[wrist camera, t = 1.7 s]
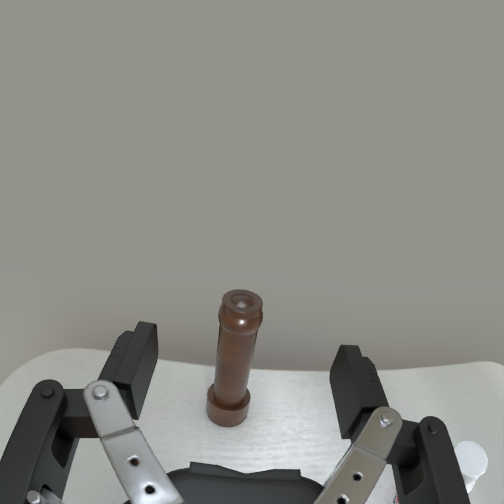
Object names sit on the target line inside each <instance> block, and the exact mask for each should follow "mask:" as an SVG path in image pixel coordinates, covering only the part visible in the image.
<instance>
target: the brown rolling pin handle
mask: <svg viewBox="0 0 504 504" xmlns="http://www.w3.org/2000/svg"><path fill="white" fill-rule="evenodd" d="M262 305H263V302H262V299H261V298H260V297H259V296H258V295H257V294H255V293H253V292H251V291H247V290H232V291H229V292H227V293H226V294H224V296H223V299H222V304H221V306H220V309H219V313H218V318H219V322H220V327H219V338H218V348H217V360H216V369H215V380H214V384H212V385H211V386H210V388H209V389H208V393H207V408H206V411H207V415H208V417H209V418H210V419H211V420H212V421H213V422H214V423H216V424H218V425H220V426H225V427H232V426H236V425H238V424H240V423H242V422H243V421H244V420H245V418H246V416H247V411H248V407H249V403H250V393H249V390H248V389H247V383H248V378H249V373H250V368H251V363H252V357H253V352H254V347H255V342H256V337H257V332H258V328H259V327H260V324H261V322H262V318H263V313H262Z"/></svg>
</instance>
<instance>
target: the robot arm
mask: <svg viewBox="0 0 504 504" xmlns="http://www.w3.org/2000/svg"><path fill="white" fill-rule="evenodd" d="M157 359H158V337H157V325H156V324H154V323H148V322H142V321H139V322H138V324H137V326H136V328H135V330H134V332H131V331H125V332H124V333H123V334H122V335H120V336H119V337H118V339H117V341H116V343H115V345H114V347H113V349H112V351H111V354H110V355H109V357H108V359H107V361H106V363H105V365H104V367H103V369H102V372H101V374H100V376H99V378H98V380H96V381H93V382H91V383H89V384H88V385H87V386H86V387H85V388H84V389H63V387H62V385H61V384H60V383H59V382H57V381H55V380H43V381H41V382H39V383H37V384H36V385H35V387H34V388H33V390H32V392H31V394H30V396H29V398H28V400H27V402H26V404H25V406H24V408H23V410H22V412H21V415H20V417H19V419H18V421H17V423H16V425H15V428H14V430H13V432H12V434H11V437H10V439H9V441H8V444H7V446H6V448H5V451H4V453H3V456H2V458H1V461H0V504H65V503H63V502H62V497H63V493H64V490H65V486H66V482H67V479H68V475H69V472H70V468H71V465H72V461H73V458H74V455H75V451H76V448H77V445H78V442H79V439H80V438H100V440H101V443H102V445H103V447H104V450H105V452H106V454H107V456H108V458H109V461H110V463H111V465H112V467H113V469H114V471H115V473H116V475H117V477H118V479H119V481H120V483H121V485H122V487H123V489H124V491H125V492H126V494H127V496H128V498H129V500H128V501H126V502H125V503H123V504H365V502H366V501H367V499H368V497H369V495H370V494H371V492H372V490H373V488H374V487H375V485H376V483H377V481H378V479H379V478H380V476H381V474H382V472H383V470H384V468H385V466H386V464H391V465H392V469H393V474H394V479H395V485H396V490H397V496H398V501H399V504H470V501H469V497H468V493H467V490H466V486H465V483H464V479H463V476H462V473H461V470H460V466H459V463H458V460H457V457H456V454H455V451H454V448H453V445H452V442H451V439H450V436H449V434H448V431H447V428H446V426H445V424H444V423H443V421H441V420H440V419H439V418H437V417H433V416H427V417H425V418H423V419H422V420H421V421H420V423H417V422H412V421H407V420H403V419H402V418H401V416H400V414H399V413H398V412H397V411H396V410H394V409H392V408H390V407H389V405H388V402H387V399H386V396H385V393H384V390H383V387H382V385H381V382H380V379H379V376H378V375H377V371H376V368H375V365H374V364H373V363H372V362H371V361H370V359H369V358H368V357H362V355H361V352H360V349H359V347H358V346H357V345H341V346H340V347H339V350H338V352H337V355H336V357H335V360H334V362H333V365H332V367H331V370H330V384H331V389H332V394H333V398H334V403H335V408H336V413H337V418H338V423H339V428H340V433H341V438H342V439H351V445H350V447H349V448H348V450H347V451H346V453H345V454H344V456H343V457H342V459H341V460H340V462H339V463H338V464H337V466H336V467H335V469H334V470H333V472H332V473H331V474H330V476H329V477H328V479H327V480H326V481H325V482H324V484H323V485H321V484H319V483H317V482H316V481H314V480H311V479H309V478H306V477H302V476H301V472H300V469H272V470H267V471H261V472H255V473H248V474H246V473H241V472H238V471H235V470H231V469H228V468H225V467H222V466H219V465H212V464H204V463H197V462H190V468H184V469H178V470H175V471H171V472H169V473H165V471H164V470H163V468H162V466H161V465H160V463H159V461H158V460H157V458H156V456H155V455H154V453H153V451H152V450H151V448H150V446H149V444H148V443H147V441H146V439H145V437H144V435H143V434H142V432H141V430H140V429H139V427H136V425H135V423H134V421H133V420H132V419H135V420H139V417H140V413H141V410H142V407H143V404H144V400H145V397H146V394H147V391H148V388H149V385H150V382H151V378H152V375H153V372H154V369H155V366H156V363H157Z"/></svg>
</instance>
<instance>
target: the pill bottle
mask: <svg viewBox="0 0 504 504" xmlns="http://www.w3.org/2000/svg"><path fill="white" fill-rule="evenodd" d="M454 451H455V454H456V457H457V460H458V463H459V466H460V470H461V473H462V476H463V479H464V483H465V486H466V490H467V493H469V492H470V491H471V489H472V488H473V486H474V484H475V481H476V479H477V478H479V477H480V476H481V475H482V474H483V473H484V472H485V470H486V468H487V465H488V458H487V454H486V452H485V450H484V449H483V448H482V447H481V446H480V445H479V444H477V443H476V442H473V441H462V442H460V443H459V444H457V445H456V446H455V447H454ZM395 504H399V501H398V496H397V495H396V498H395Z"/></svg>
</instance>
